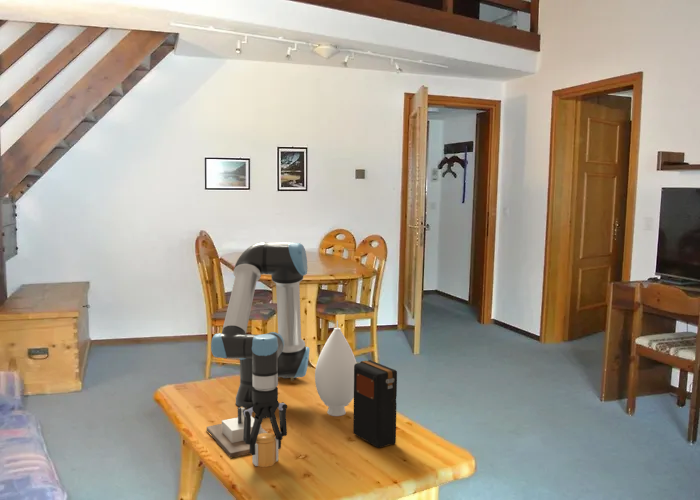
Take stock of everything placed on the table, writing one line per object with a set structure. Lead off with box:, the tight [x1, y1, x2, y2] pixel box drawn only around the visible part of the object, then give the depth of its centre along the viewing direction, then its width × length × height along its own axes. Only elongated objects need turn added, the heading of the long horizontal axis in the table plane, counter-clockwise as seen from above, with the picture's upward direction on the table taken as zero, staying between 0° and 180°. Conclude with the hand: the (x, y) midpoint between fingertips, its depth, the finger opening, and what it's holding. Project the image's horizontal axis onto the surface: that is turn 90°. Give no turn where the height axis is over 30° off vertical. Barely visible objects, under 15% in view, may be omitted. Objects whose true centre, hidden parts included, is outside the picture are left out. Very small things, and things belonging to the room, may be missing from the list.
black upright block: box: [352, 359, 398, 449], centre depth 196 cm, size 16×9×25 cm, turn 35°
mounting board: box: [206, 423, 268, 458], centre depth 196 cm, size 16×24×2 cm, turn 31°
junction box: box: [221, 407, 262, 443], centre depth 196 cm, size 10×10×9 cm
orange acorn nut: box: [256, 432, 277, 468], centre depth 179 cm, size 6×6×8 cm
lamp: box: [314, 319, 358, 417], centre depth 219 cm, size 16×16×35 cm
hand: (265, 461), depth 179 cm, fingers closed on orange acorn nut, 6 cm apart
